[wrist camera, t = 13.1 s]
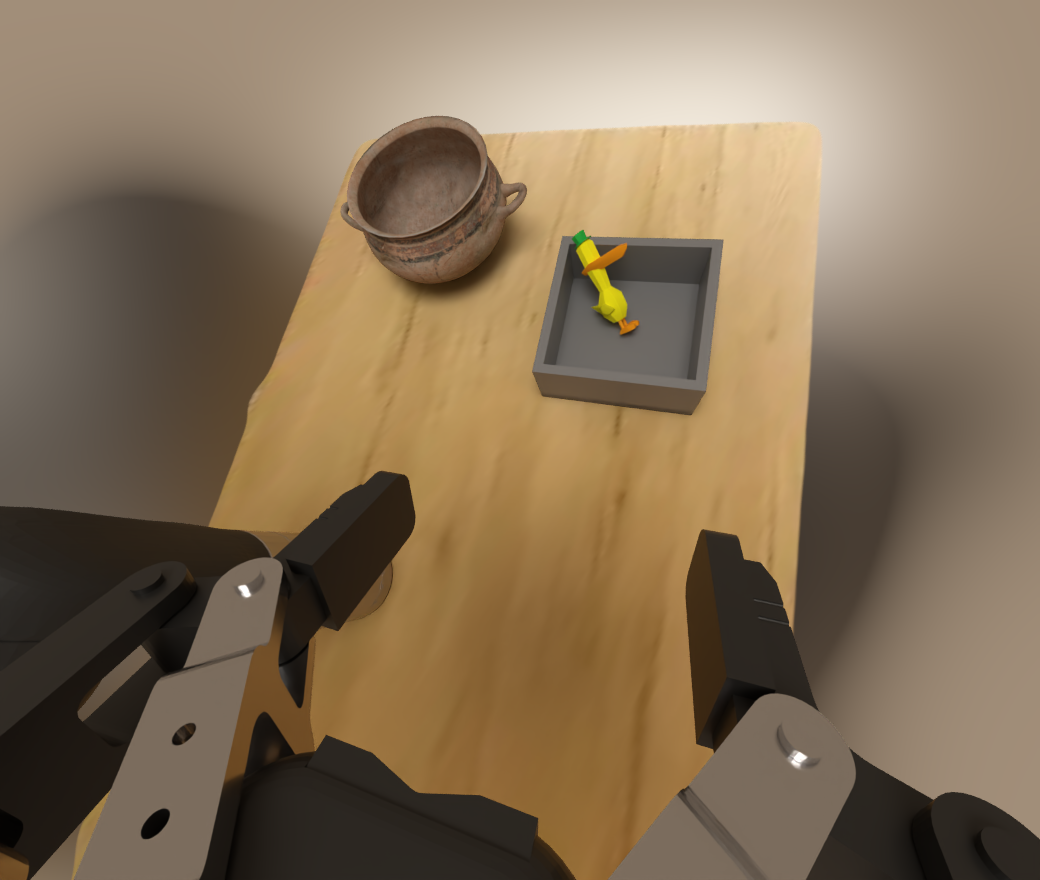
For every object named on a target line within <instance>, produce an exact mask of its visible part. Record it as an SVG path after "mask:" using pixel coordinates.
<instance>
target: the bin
mask: <svg viewBox="0 0 1040 880" xmlns="http://www.w3.org/2000/svg"><path fill="white" fill-rule="evenodd" d="M572 238H573V236H562V241H561V245H560V250H559V254H558V259H557V263H556V268H555V272H554V277H553V281H552V286H551V290H550V295H549V299H548V303H547V308H546V312H545V317H544V321H543V326H542V330H541V335H540V339H539V344H538V348H537V353H536V357H535V362H534V366H533V371H532V372H533V375H534V377H535V379H536V382H537V384H538V387H539V389H540V391H541V394H542V396H545V397H553V398H560V399H568V400H576V401H584V402H592V403H600V404H607V405H615V406H623V407H631V408H639V409H646V410H654V411H662V412H670V413H678V414H685V415H692V413H693V411H694V410H695V408H696V406H697V405H698V403H699V402H700V400H701V398H702V397H703V395H704V394H705V392H706V387H707V378H708V370H709V361H710V352H711V344H712V335H713V326H714V318H715V309H716V300H717V292H718V283H719V274H720V266H721V257H722V248H723V240H717V239H669V238H621V237H590V238H589V239H590V240H592V241H593V242H594V244H595V247H596V249H597V251H598V253H599V255H600V257H601V256H603V255H604V254H606V253H607V252H609V251H611V250H612V249H614V248H616V247H617V246H619V245H621V244H624V243H627V249H626V252H625V254H624V256H623V257H621V258H620V259H618V260H616V261H615V262H613V263H611V264H610V265H608V266H606V267H605V270H606V272H607V275H608V278H609V281H610V284H611V286H612V287H614V288H616V289H618V290H620V291H621V292H622V294H623V296H624V298H625V300H626V302H627V313H626V317H625V320H626V322H627V324H628V323H629V322H631V321H633V320H638V321H639V323H640V324H639V325H638V326H636V328H635V329H633V330H631V331H629V332H627V333H624V334H621V335H620V330H621V327H620V325H619V323H618V322H615V323H613V322H611V321H610V320H608V319H606V318H604V316H603V315H602V314H601V313H599V312H597V311H596V310H594V309H593V308H591V307H594V306H597V305H598V304H599V296H600V292H599V291H598V289H597V288H596V286H595V284H594V283H593V281H592V280H591V278H590V277H589V275H587V276H585V275H583V274H582V271H583V270H584V269H585V268H584V266H583V264H582V262H581V260H580V258H579V256H578V254H577V252H576V250H577V249H574V248H575V247H576V246H577V245H576V244H575V243H574V241H573V240H572ZM623 325H624V324H623Z"/></svg>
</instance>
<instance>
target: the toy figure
mask: <svg viewBox="0 0 1040 880" xmlns="http://www.w3.org/2000/svg"><path fill="white" fill-rule="evenodd" d="M590 237H591V236H589V237H586V235H585V233H584V230H582V231H580V232H579V233H577V234H576V235H575V236H574V237H573V238H572V240H573V241H574V243H575V244H576V245H577V246H576V247H575V248H574V249H577V250H576V252H577V254H578V256H579V258H580V260H581V262H582V264H583V266H584V268H585V269H584V270H583V271H582V274H583V275H585V276H587V275H589V277H590V278H591V280H592V281H593V283H594V284H595V286H596V288H597V289H598V291H599V292H600V296H599V304H598V305H597V306H594V307H591V308H593V309H594V310H596V311H597V312H599V313H601V314H602V315H603V316H604V318H606V319H608V320H610V321H611V322H613V323H615V322H618V323H619V325H620V327H621V330H620V335H621V334H624V333H627V332H629V331H631V330H633V329H635V328H636V326H638V325H639V324H640V323H639V321H638V320H633V321H631V322H629V323H628V324H627V322H626V320H625V317H626V313H627V302H626V300H625V298H624V296H623V294H622V292H621V291H620V290H618V289H616V288H614V287H612V286H611V284H610V281H609V278H608V275H607V272H606V270H605V267H606V266H608V265H610V264H611V263H613V262H615V261H616V260H618V259H620V258H621V257H623V256H624V254H625V252H626V249H627V243H624V244H621V245H619V246H617V247H616V248H614V249H612V250H611V251H609V252H607V253H606V254H604V255H603V256H601V257H600V255H599V253H598V251H597V249H596V247H595V244H594V242H593V241H592V240H590V239H589V238H590ZM623 324H624V325H623Z"/></svg>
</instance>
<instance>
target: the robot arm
mask: <svg viewBox="0 0 1040 880" xmlns="http://www.w3.org/2000/svg"><path fill="white" fill-rule="evenodd" d="M414 525H415V511H414V505H413V500H412V495H411V490H410V484H409V480H408V478H407V476H405V475H402V474H397V473H391V472H386V471H379V472H377V473H376V474H375V475H374V476H372V477H371V478H370V479H369V480H368V481H367V482H366V483H365V484H364V485H359V486H357V487H355V488H353V489H352V490H350V491H348V492H346V493H344V494H343V495H342V496H340V497H339V498H338V499H337V500H336V501H335V502H334V503H333V504H332V505H331V506H330V508H329V509H328V508H327V509H326V510H325V511H324V512H323V513H322V514H321V515H320V516H319V518H318V519H315V520H314V521H313V522H312V523H311V524H310V525H309V526H308V527H306V528H305V529H304V530H303V531H302V532H301V533H285V532H263V531H245V530H227V529H218V528H211V527H204V526H199V525H192V524H184V523H174V522H161V521H148V520H139V519H130V518H121V517H112V516H103V515H96V514H88V513H80V512H72V511H64V510H63V511H62V510H53V509H43V508H31V507H5V506H0V880H30V879H31V878H32V877H33V876H34V875H35V874H36V873H37V871H38V870H39V869H40V868H41V867H42V866H43V865H44V864H45V862H46V861H47V860H48V859H49V858H50V857H51V856H52V855H53V853H54V852H55V851H56V850H57V849H58V848H59V847H60V846H61V844H62V843H63V842H64V841H65V840H66V839H67V838H68V836H69V835H70V834H71V833H72V832H73V831H74V830H75V829H76V828H77V826H78V825H79V824H80V823H81V822H82V821H83V820H84V819H85V817H86V816H87V815H88V814H89V813H90V812H91V811H92V810H93V809H94V807H95V806H96V805H97V804H98V803H99V802H100V801H101V800H102V798H103V797H104V796H105V795H106V794H107V793H108V792H109V791H110V789H111V791H110V793H109V796H108V798H107V800H106V803H105V805H104V808H103V810H102V812H101V815H100V817H99V820H98V822H97V824H96V827H95V829H94V832H93V834H92V836H91V839H90V841H89V844H88V846H87V849H86V851H85V853H84V856H83V858H82V861H81V863H80V865H79V868H78V870H77V873H76V875H75V877H74V880H576V879H575V877H574V876H573V874H572V873H571V872H570V870H569V869H568V867H567V866H566V865H565V863H564V862H563V860H562V859H561V858H560V857H559V856H558V855H557V854H556V853H555V851H554V850H553V849H552V848H551V847H550V846H549V845H548V844H547V843H545V842H544V841H543V840H542V839H541V838H540V837H538V818H536V817H534V816H531V815H529V814H526V813H524V812H521V811H518V810H516V809H513V808H511V807H508V806H506V805H503V804H501V803H498V802H496V801H493V800H490V799H488V798H485V797H483V796H480V795H455V794H426V793H418V792H415V791H414V790H412V789H411V788H410V787H409V786H408V785H407V784H405V783H404V782H403V781H402V780H401V779H400V778H399V777H398V776H397V775H396V774H395V773H393V772H392V771H391V770H390V769H389V768H388V767H387V766H386V765H385V764H384V763H383V762H382V761H380V760H379V759H378V758H377V757H376V756H375V755H374V754H373V753H371V752H368V751H366V750H363V749H361V748H358V747H356V746H353V745H350V744H348V743H345V742H343V741H340V740H338V739H335V738H333V737H330V736H327V735H326V736H325V738H324V739H323V741H322V742H321V744H320V745H319V747H318V749H317V750H316V751H315V749H314V739H313V733H312V729H311V722H310V708H311V696H312V684H313V671H314V659H315V646H316V640H315V637H314V634H315V633H316V632H317V631H318V629H322V628H325V627H326V628H330V629H333V630H336V631H339V629H340V628H341V627H342V625H343V624H344V623H345V622H348V621H351V620H355V619H358V618H362V617H365V616H367V615H369V614H371V613H372V612H373V611H375V610H376V609H377V608H378V607H379V606H380V605H381V604H382V603H383V601H384V599H385V598H386V596H387V594H388V591H389V589H390V586H391V580H392V566H391V560H392V559H393V558H394V556H395V555H396V554H397V553H398V551H399V550H400V549H401V547H402V546H403V545H404V543H405V542H406V541H407V539H408V538H409V537H410V535H411V533H412V531H413V529H414ZM686 610H687V623H688V637H689V650H690V664H691V678H692V691H693V705H694V718H695V732H696V744H698V745H701V746H705V747H708V748H711V749H713V750H714V754H713V756H712V757H711V758H710V759H709V761H708V762H707V763H706V764H705V766H704V767H703V768H702V769H701V771H700V772H699V773H698V774H697V776H696V777H695V778H694V779H693V781H692V782H691V783H690V784H689V785H688V786H687V787H686V788H685V789H682V790H681V791H680V792H679V793H678V794H677V795H676V796H675V797H674V798H673V799H672V800H671V802H670V803H669V804H668V805H667V806H666V808H665V809H664V810H663V811H662V813H661V814H660V815H659V816H658V818H657V819H656V820H655V821H654V823H653V824H652V825H651V826H650V828H649V829H648V830H647V831H646V833H645V834H644V835H643V836H642V838H641V839H640V840H639V841H638V843H637V844H636V845H635V846H634V847H633V849H632V850H631V851H630V852H629V854H628V855H627V856H626V857H625V859H624V860H623V861H622V862H621V864H620V865H619V866H618V867H617V869H616V870H615V871H614V872H613V874H612V875H611V876H610V877H609V879H608V880H1040V839H1039V838H1038V837H1036V836H1035V835H1034V834H1033V833H1032V832H1031V831H1030V830H1028V829H1027V828H1026V827H1025V826H1024V825H1022V824H1021V823H1020V822H1018V821H1017V820H1016V819H1014V818H1013V817H1012V816H1010V815H1009V814H1007V813H1006V812H1004V811H1003V810H1001V809H999V808H998V807H996V806H994V805H992V804H990V803H988V802H987V801H985V800H982V799H980V798H977V797H975V796H972V795H968V794H964V793H958V792H950V793H945V794H942V795H940V796H938V797H937V798H936V799H934V800H933V799H931V798H929V797H927V796H926V795H924V794H922V793H920V792H919V791H917V790H915V789H913V788H912V787H910V786H908V785H906V784H905V783H903V782H901V781H899V780H898V779H896V778H894V777H892V776H890V775H889V774H887V773H885V772H884V771H882V770H880V769H878V768H877V767H875V766H873V765H872V764H870V763H869V762H867V761H865V760H864V759H863V758H861V757H860V756H859V755H857V754H856V753H855V752H853V751H852V750H851V749H850V748H849V747H848V745H847V744H846V742H845V740H844V739H843V737H842V736H841V734H840V733H839V732H838V730H837V729H836V728H835V727H834V726H833V725H832V723H831V722H830V721H829V720H828V719H827V718H826V717H824V716H823V715H822V714H821V713H820V712H819V710H818V708H817V706H816V704H815V701H814V698H813V696H812V692H811V689H810V686H809V683H808V680H807V677H806V673H805V670H804V667H803V664H802V661H801V658H800V655H799V651H798V648H797V645H796V642H795V639H794V636H793V633H792V630H791V627H789V620H788V617H787V614H786V611H785V609H784V608H783V601H782V598H781V595H780V592H779V589H778V586H777V583H776V581H775V580H774V579H773V578H772V576H771V575H770V574H769V573H768V571H767V570H766V569H765V568H764V566H763V565H762V564H761V563H760V562H755V561H750V560H744V558H743V554H742V550H741V546H740V542H739V539H738V537H737V536H736V535H732V534H726V533H721V532H715V531H710V530H704V529H702V530H701V532H700V534H699V537H698V541H697V544H696V548H695V551H694V554H693V558H692V561H691V565H690V568H689V571H688V576H687V582H686ZM140 645H142V646H143V648H144V649H145V650H146V651H147V652H148V654H149V655H150V656H151V657H152V658H151V659H150V660H148V661H147V662H146V663H145V664H144V665H143V666H142V667H141V668H140V669H139V670H138V671H137V672H136V673H135V674H134V675H132V676H131V677H130V678H129V679H128V680H127V681H126V682H125V683H124V684H123V685H122V686H121V687H120V688H119V689H118V690H117V691H116V692H114V693H113V694H112V696H110V697H109V698H108V699H107V700H106V701H105V702H104V703H103V704H102V705H101V706H100V707H99V708H98V709H96V710H95V711H94V712H93V713H92V714H91V715H90V716H89V717H88V718H87V719H86V720H84V721H83V722H82V721H81V720H80V719H79V718H78V714H77V712H78V710H79V709H80V708H81V707H82V706H83V705H84V704H85V703H86V701H87V700H88V699H89V697H90V696H91V695H92V693H93V692H94V691H95V689H96V688H97V687H98V685H99V683H100V682H101V680H102V679H103V678H104V677H105V676H106V675H107V674H108V673H109V672H110V671H112V670H113V669H114V668H115V667H116V666H117V665H118V664H120V663H121V662H122V661H123V660H124V659H125V658H126V657H127V656H128V655H130V654H131V653H132V652H133V651H134V650H135V649H136V648H137V647H138V646H140Z"/></svg>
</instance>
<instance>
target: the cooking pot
mask: <svg viewBox="0 0 1040 880" xmlns="http://www.w3.org/2000/svg"><path fill="white" fill-rule="evenodd" d="M515 192H519V193H518V195H517V197H516V198H515V199H514V200H513V202H512V203H511V204H509V205H507V206H506V197H508V196H509V195H511V194H513V193H515ZM526 194H527V188H526V186H525V185H524V184H523V183H514V184H503V182H502V179H501V177H500V175H499V173H498V171H497V169H496V167H495V166H494V164H493V163H492V161H491V160H490V158H489V157H488V156H487V150H486V145H485V143H484V140H483V138H482V136H481V135H480V134H479V133H478V131H477V130H476V129H475V128H474V127H473V126H471V125H470V124H469V123H467V122H464V121H462V120H460V119H457V118H453V117H448V116H431V117H424V118H420V119H415V120H412V121H410V122H407V123H404V124H402V125H400V126H398V127H396V128H394V129H392V130H391V131H389V132H388V133H386V134H385V135H383V136H382V137H381V138H379V139H378V140H377V141H376V142H375V143H373V144H372V145H371V146H370V148H369V149H368V150H367V151H366V152H365V153H364V154H363V156H362V157H361V158H360V160H359V161H358V163H357V164H356V166H355V168H354V170H353V172H352V175H351V178H350V180H349V184H348V190H347V202H346V203H344V204H343V205H342V207H341V215H342V218H343V219H344V220H345V221H346V222H347V223H348V224H349V225H350V226H352V227H354V228H356V229H358V230H360V231H362V232H364V235H365V238H366V240H367V243H368V244H369V246H370V248H371V250H372V252H373V254H374V255H375V256H376V257H377V259H378V260H379V261H380V262H381V263H382V264H383V265H384V266H385V267H386V268H387V269H389V270H390V271H392V272H393V273H395V274H396V275H398V276H401V277H403V278H405V279H408V280H410V281H414V282H419V283H432V284H434V283H442V282H447V281H450V280H454V279H457V278H459V277H461V276H463V275H466V274H467V273H469V272H470V271H472V270H473V269H475V268H476V267H477V266H478V265H480V264H481V263H482V262H483V261H484V260H485V259H486V258H487V257H488V255H489V254H490V253H491V252H492V250H493V249H494V247H495V245H496V244H497V242H498V240H499V238H500V235H501V233H502V230H503V226H504V222H505V218H506V217H507V216H508V215H510V214H512V213H513V212H514V211H515V210H516V209H517V208H518V207H519V206H520V205H521V204H522V202H523V201H524V199H525V197H526ZM349 210H350V212H351V214H352V216H353V218H354V219H352V218H351V217H350V216H349V215H348V211H349Z"/></svg>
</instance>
